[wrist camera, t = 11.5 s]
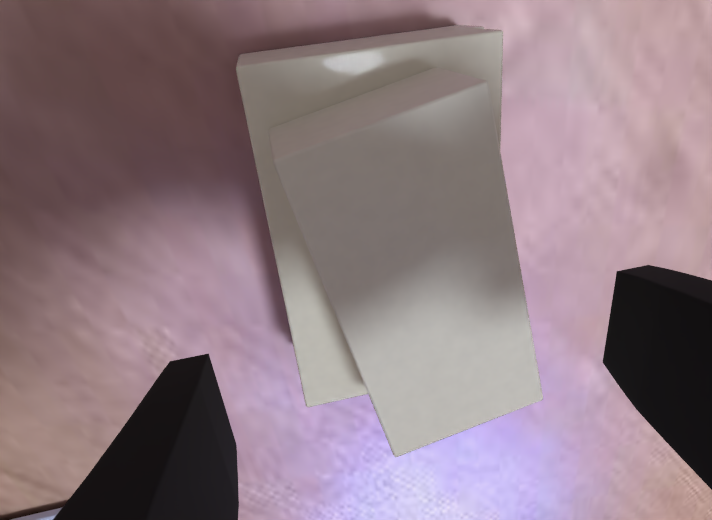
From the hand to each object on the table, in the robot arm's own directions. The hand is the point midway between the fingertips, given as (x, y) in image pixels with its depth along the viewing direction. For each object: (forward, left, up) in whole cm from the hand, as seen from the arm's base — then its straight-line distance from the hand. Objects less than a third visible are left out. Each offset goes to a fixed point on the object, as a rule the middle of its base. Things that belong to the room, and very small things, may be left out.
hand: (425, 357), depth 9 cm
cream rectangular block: (+1, -1, -6) cm, 6 cm away
